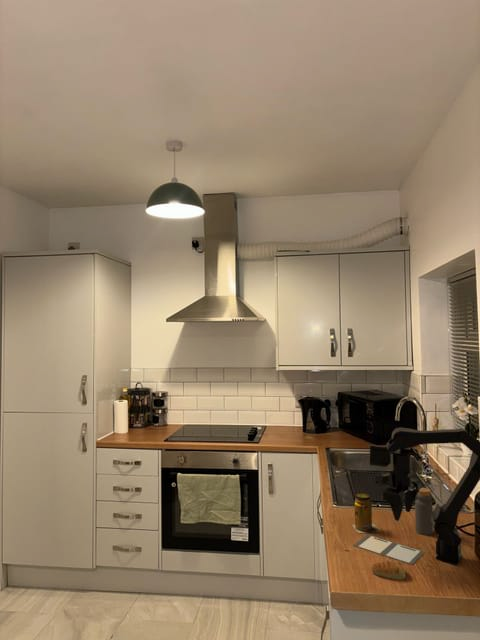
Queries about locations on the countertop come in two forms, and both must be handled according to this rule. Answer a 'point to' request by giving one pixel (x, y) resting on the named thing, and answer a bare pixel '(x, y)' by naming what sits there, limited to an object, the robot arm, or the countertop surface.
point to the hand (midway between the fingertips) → (402, 516)
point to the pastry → (389, 569)
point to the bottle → (423, 512)
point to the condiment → (364, 515)
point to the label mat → (389, 549)
